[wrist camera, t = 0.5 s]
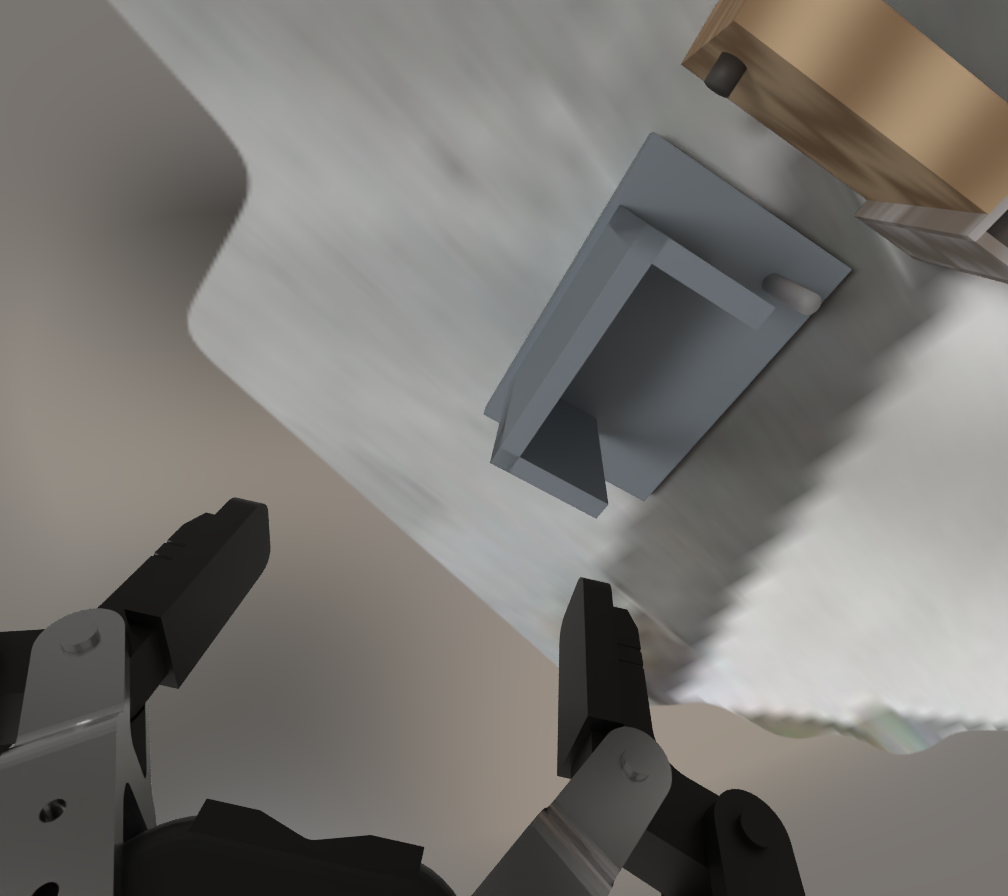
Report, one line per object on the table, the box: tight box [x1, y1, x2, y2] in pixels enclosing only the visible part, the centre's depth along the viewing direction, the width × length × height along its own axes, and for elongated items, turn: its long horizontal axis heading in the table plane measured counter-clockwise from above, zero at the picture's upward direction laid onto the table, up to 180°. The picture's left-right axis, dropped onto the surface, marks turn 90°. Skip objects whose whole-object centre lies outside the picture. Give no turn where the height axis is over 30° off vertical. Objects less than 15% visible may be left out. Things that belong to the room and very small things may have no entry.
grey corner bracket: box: [484, 132, 852, 518], centre depth 31 cm, size 21×15×12 cm
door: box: [681, 0, 1008, 284], centre depth 25 cm, size 19×5×10 cm, turn 61°
